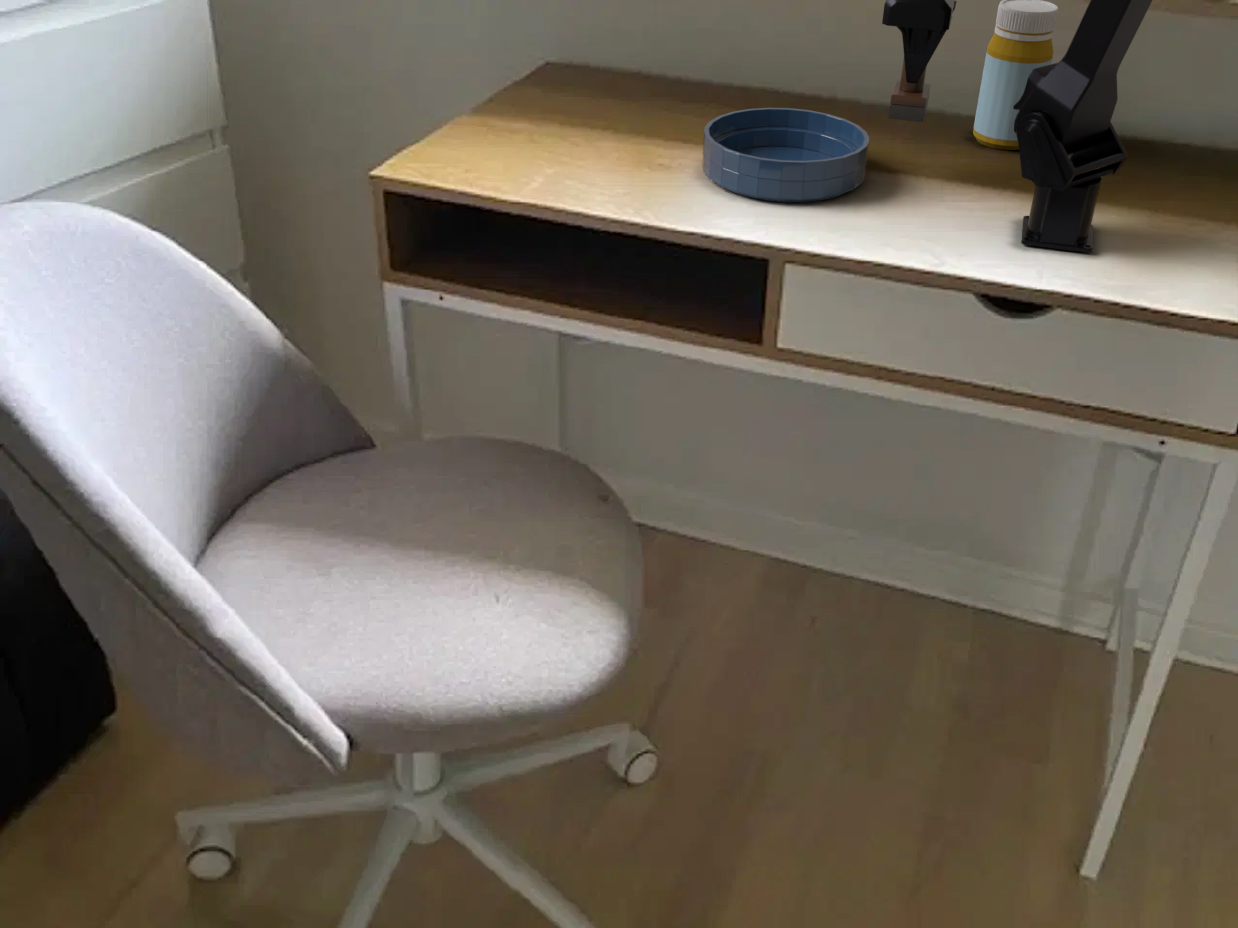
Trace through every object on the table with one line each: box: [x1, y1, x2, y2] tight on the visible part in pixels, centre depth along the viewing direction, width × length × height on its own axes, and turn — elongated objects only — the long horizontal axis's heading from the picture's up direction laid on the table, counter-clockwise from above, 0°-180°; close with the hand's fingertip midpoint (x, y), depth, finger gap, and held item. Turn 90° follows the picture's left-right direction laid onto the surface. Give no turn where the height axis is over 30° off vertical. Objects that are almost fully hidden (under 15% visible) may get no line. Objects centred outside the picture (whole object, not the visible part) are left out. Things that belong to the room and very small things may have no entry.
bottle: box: [972, 0, 1059, 151], centre depth 144 cm, size 7×7×15 cm
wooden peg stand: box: [887, 58, 931, 123], centre depth 132 cm, size 5×4×10 cm
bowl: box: [701, 107, 871, 203], centre depth 136 cm, size 17×17×4 cm
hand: (913, 79), depth 132 cm, fingers closed on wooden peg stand, 2 cm apart
